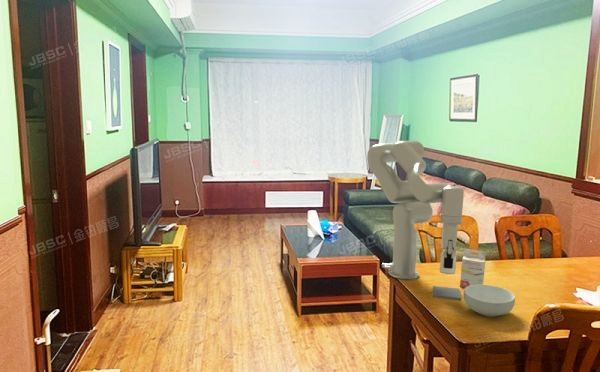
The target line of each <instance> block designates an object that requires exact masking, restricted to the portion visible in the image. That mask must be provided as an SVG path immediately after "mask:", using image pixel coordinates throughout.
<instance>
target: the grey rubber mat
mask: <svg viewBox="0 0 600 372" xmlns="http://www.w3.org/2000/svg"><path fill="white" fill-rule="evenodd" d="M461 295H462V294H461V290H460V288H455V287H447V286H446V287H445V286H436V285H432V298H436V299H437V298H439V299H448V300H456V301H461V300H462V296H461Z"/></svg>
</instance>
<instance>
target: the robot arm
mask: <svg viewBox="0 0 600 372" xmlns="http://www.w3.org/2000/svg"><path fill="white" fill-rule="evenodd" d="M366 155H367V156H366V159H367V165H368V167H369V169H370V171H371V172H372V174H373V175H374V177H375V178H376V180H377V181H378V183H379V185H380V188H381V189H382V191H383V193H384V195H385V196H386V199H387V200H388V201H389V202H390V203H393V204H396V205H395V206H394V207H393V208H392V209H393V210H392V219H393V230H394V231H393V250H392V262H390V263H386V262H385V263H384V262H382V264H381V268H383V269H384V270H388V275H389V276H391V277H393V278H395V279H399V280H414V279H417V278H419V276H420V273H419V271H417V270H416V264H417V245H418V233H417V230H416V228H415V225H416V224H423V223H427V222H429V221H430V220H431V219H432V217H433V208H432V205H431V204H436V203H437V204H438V203H441V208H440V210H441V211H440V224H442V231H441V232H442V233H441V242H440V243H441V245H440V246H441V250H442V251H445V257H444V268H450V269H452V268H453V252H455V251H456V250H457V249H456V248H457V239H458V230H459V226H461V225H462V224H463V223H462V221H463V220H462V219H463V208H464V194H465V192H464V191H465V190H464V189H463V187H461V186H457V185H450V184H448V183H445V182H434V183H432V182H431V183H426V182H425V180H423V179H422V177H421V175H422V174H423V173H424V172H425V170H426V168H427V164H426V163H427V162H426V160H424V159H423V157H424V155H425V148H424V145H423V144H422V143H421V142H420V141H418V140H399V141H397V142H395V143H377V144H374V145H372V146H370V147H369V148H368V151H367V154H366ZM387 163H388V164H387ZM389 163H390V164H391V163H398V165H399V166H400V167H401V168H402V169H403V170H404V172H405V173H406V174H407V180H402V179H400V177H399V176H398V174H397V172H396V171H395V170H394V168H393V167H391V166H390V165H389ZM447 248H448V250H447ZM447 251H448V252H447Z"/></svg>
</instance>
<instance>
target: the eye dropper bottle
mask: <svg viewBox="0 0 600 372" xmlns="http://www.w3.org/2000/svg"><path fill="white" fill-rule="evenodd" d="M447 250H448V248H447ZM447 252H448V251H447ZM444 257H445V250H442V252H441V253H440V260H439V261H440V262H439V263H440V265H439V273H441V274H445V275H455V274H456V268H457V253H455V251H453V268H452V269H450V268H444Z"/></svg>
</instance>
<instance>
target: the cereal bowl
mask: <svg viewBox="0 0 600 372" xmlns="http://www.w3.org/2000/svg"><path fill="white" fill-rule="evenodd" d="M463 300H464V303H465V304H466V306H467V307H468V308H469V309H471V311H473V312H476V313H477V314H479V315H481V316H484V317H491V318H492V317H499V316H502V315H506V314H509V312H511V311H512V310H513V308H514V306H515V303H516V296H515V294H514V293H513V292H512V291H510V290H509V289H506V288H504V287H500V286H495V285H491V284H483V285H470V286H467V287H466V288H465V287H464V289H463Z"/></svg>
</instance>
